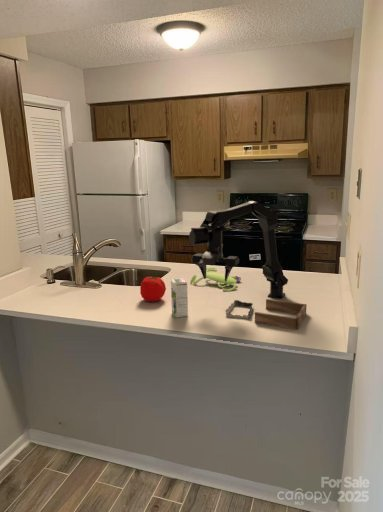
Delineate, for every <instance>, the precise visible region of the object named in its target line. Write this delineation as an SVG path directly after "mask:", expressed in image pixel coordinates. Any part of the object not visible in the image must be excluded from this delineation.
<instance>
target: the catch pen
mask: <svg viewBox="0 0 383 512" xmlns="http://www.w3.org/2000/svg"><path fill="white" fill-rule="evenodd" d="M265 309H266V310H272V311H278V312H285V313H291V314H297V316H296V317H291V316H285V315H279V314H271V313H267V312H265V313H264V312H259V311H255V312H254V323H255V324H261V325H268V326H271V327H278V328H279V327H280V328H283V329H284V328H285V329H290V330H296V331H297V330H299V328H300V327H301V324H302V322H303V320H304V319H305V317H306V315H307V304H306V303H300V302H293V301H284V300H278V299H270V298H266V300H265Z"/></svg>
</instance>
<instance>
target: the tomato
mask: <svg viewBox="0 0 383 512" xmlns="http://www.w3.org/2000/svg"><path fill="white" fill-rule="evenodd" d="M139 290H140V291H139V293H140V295H141V297H142V299H143V300H145V301H146V302H153V303H154V302H157V301H160V300H161V299H162V298H163V297H164V296H165V294H166V290H167V288H166V283H165V282H164V280H163V279H162V278H161V277H157V276H156V277H154V276H145V277H144V279H143V280H142V281H141V284H140V289H139Z"/></svg>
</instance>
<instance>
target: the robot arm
mask: <svg viewBox="0 0 383 512" xmlns="http://www.w3.org/2000/svg"><path fill="white" fill-rule="evenodd" d="M251 213H252V215H254V216H255V217H256V218H257V221H258V225H259V226H260V228H261V229H262V235H263V242H264V244H263V245H264V251H265V259H266V260H265V261H266V262H265V264H264V265H261V269H262V274H263V276H264V277H265V279H266V281H267V282H269V283H270V284H269V289H270V290H269V294H268V295H267V297H268V298H276V299H283V298H284V297H285V295H286V293H285V292H284V286H285V285H288V283H289V279H288V278H287V277H286V276H285V275H284V270H283V267H282V266H281V264H280V262H279V260H278V250H277V249H278V248H277V241H276V232H275V229H276V227H277V224H278V213H277V211H276V210H275V209H270V208H268V207H266V206H265V205H262V204H261V203H260V202H259V201H254V200H249V201H247V202H244V203H242V204H239V205H236V206H233V207H229V208H226V209H214V210H209V211H208V212H206V213H205V214H206V215H205V217H204V219H203V220H202V223H201V224H200V226H199V227H191V228H190V230H191V231H190V232H189V235H188V240H189V243H190V245H191V246H199V245H205V244H206V245H207V246H206V250H205V252H204V253H195V254H193V255H192V256H191V263H192V264H193V263H194V265H195V266H197V267H198V268H199V270H200V272H201V274H202V277H204V279H203V280H206V279H207V277H206V268H207V265H208V266H209V265H210V266H214V265H215V264H216V263H225V266H224V271H225V273H224V275H225V281H227V279H228V276H230V274H231V271H232V270H233V268H234V267H236V266H237V265H239V264H240V258H239V256H235V255H229V256H227V257H224V253H223V247H224V244H223V232H227V231H228V228H226V227H225V226H224V225H225V224H227V223H228V222H229V221H230V220H232V219H236V218H238V217H241V216H244V215H246V214H251Z"/></svg>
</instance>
